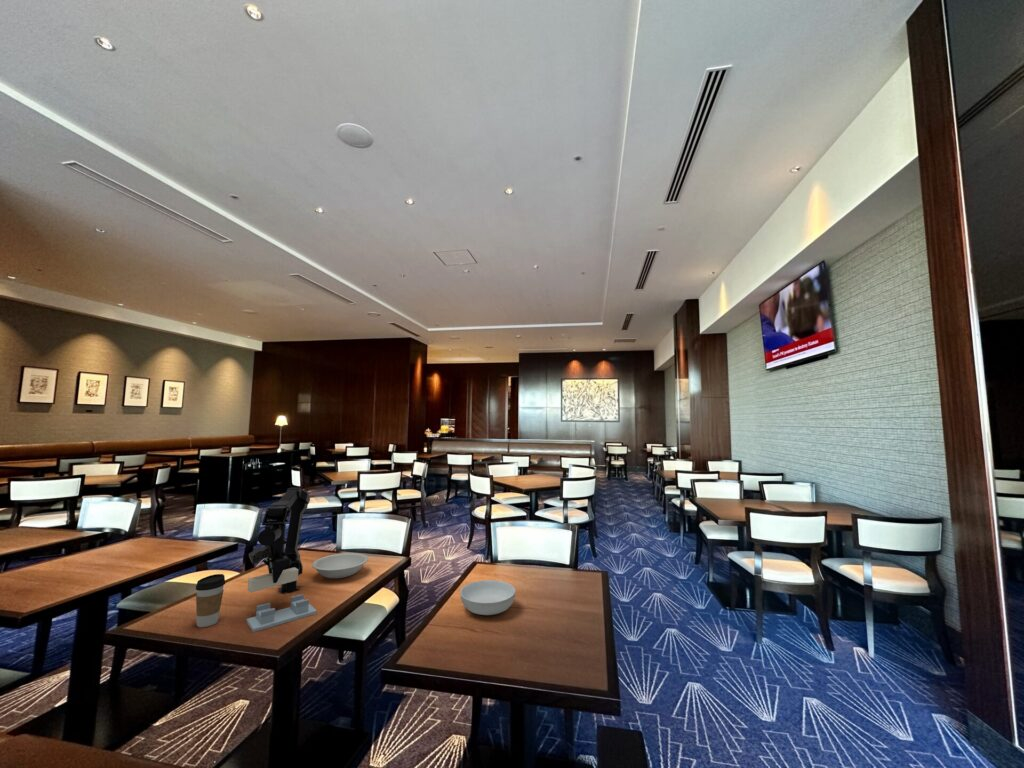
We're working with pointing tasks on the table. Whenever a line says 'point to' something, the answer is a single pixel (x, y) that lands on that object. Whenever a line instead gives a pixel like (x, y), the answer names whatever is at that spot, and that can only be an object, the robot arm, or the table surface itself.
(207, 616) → the coffee cup
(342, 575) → the soup bowl
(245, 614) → the table surface
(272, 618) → the rack
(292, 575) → the strip
